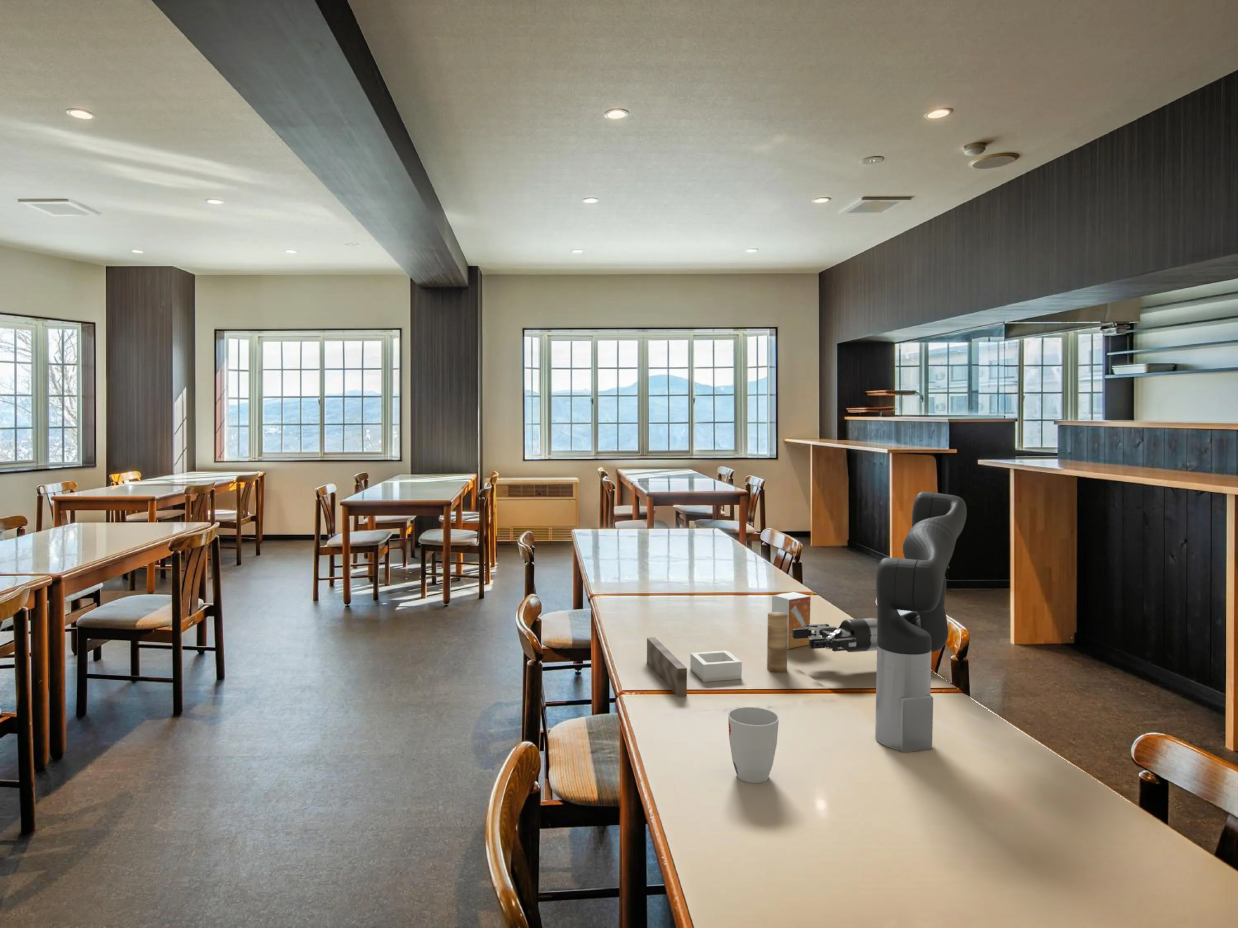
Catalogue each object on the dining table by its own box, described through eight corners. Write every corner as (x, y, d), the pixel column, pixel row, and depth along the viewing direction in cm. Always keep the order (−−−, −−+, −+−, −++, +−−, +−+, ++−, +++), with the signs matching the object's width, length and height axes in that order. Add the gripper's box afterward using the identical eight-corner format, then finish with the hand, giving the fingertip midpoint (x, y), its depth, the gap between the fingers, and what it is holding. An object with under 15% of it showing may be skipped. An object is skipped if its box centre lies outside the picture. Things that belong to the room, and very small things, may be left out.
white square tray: (741, 678, 171) (741, 661, 171) (703, 681, 169) (703, 664, 168) (726, 666, 179) (726, 650, 179) (690, 669, 177) (690, 652, 177)
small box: (788, 649, 197) (789, 599, 197) (770, 643, 203) (771, 594, 202) (810, 644, 202) (811, 595, 201) (792, 639, 207) (793, 591, 206)
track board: (766, 694, 164) (766, 662, 164) (676, 702, 159) (676, 668, 159) (725, 661, 187) (725, 632, 187) (645, 666, 183) (645, 637, 182)
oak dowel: (790, 676, 176) (791, 616, 175) (772, 678, 175) (772, 617, 174) (781, 670, 180) (782, 611, 180) (763, 672, 179) (764, 612, 178)
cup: (743, 760, 132) (744, 703, 131) (786, 774, 126) (787, 714, 126) (718, 777, 125) (718, 717, 125) (762, 792, 120) (763, 729, 120)
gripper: (848, 612, 189) (787, 615, 185) (881, 626, 175) (815, 630, 171) (848, 642, 189) (787, 646, 186) (880, 659, 175) (815, 663, 172)
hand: (800, 638), depth 178 cm, fingers open, 8 cm apart
